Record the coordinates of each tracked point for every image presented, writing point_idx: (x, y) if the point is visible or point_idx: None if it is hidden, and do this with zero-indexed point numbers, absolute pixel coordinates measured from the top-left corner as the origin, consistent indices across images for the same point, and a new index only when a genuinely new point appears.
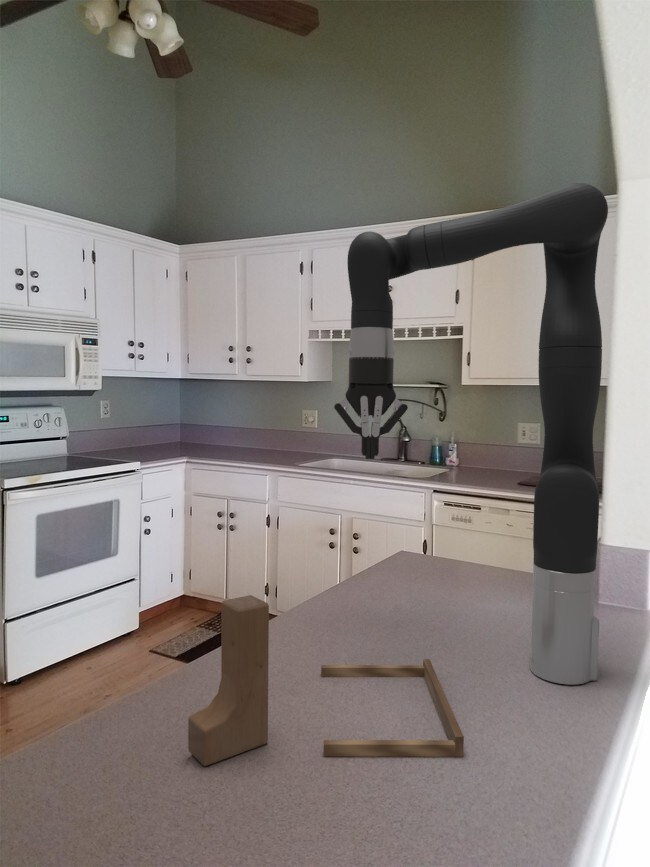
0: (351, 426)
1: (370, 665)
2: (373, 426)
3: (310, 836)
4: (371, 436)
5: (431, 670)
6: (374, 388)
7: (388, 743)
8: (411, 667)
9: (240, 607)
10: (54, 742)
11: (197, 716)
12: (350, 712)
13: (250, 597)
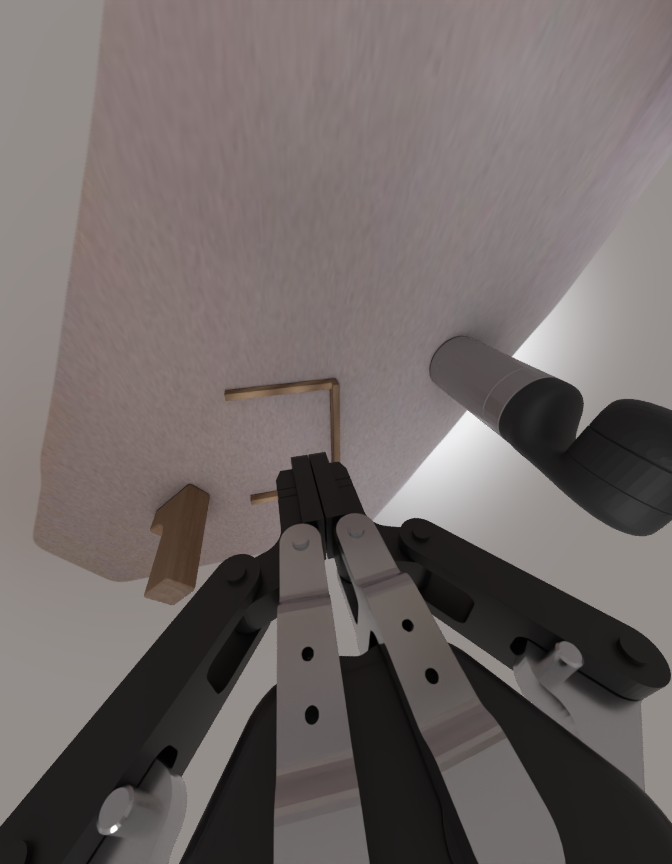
0: (230, 642)
1: (278, 389)
2: (353, 611)
3: (255, 545)
4: (333, 545)
5: (336, 408)
6: None
7: None
8: (319, 388)
9: (172, 603)
10: (40, 522)
11: (157, 532)
12: (263, 450)
13: (169, 586)
